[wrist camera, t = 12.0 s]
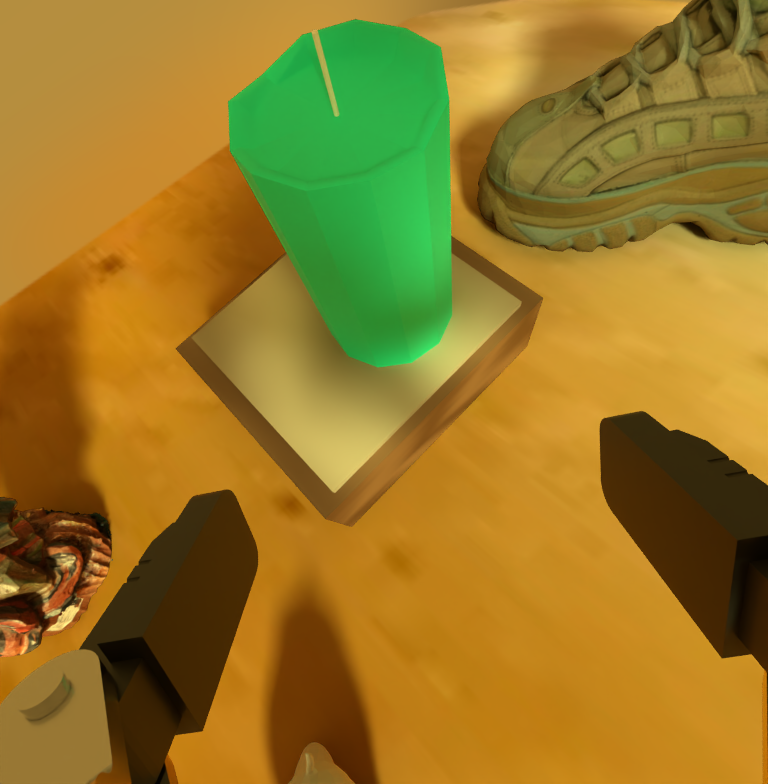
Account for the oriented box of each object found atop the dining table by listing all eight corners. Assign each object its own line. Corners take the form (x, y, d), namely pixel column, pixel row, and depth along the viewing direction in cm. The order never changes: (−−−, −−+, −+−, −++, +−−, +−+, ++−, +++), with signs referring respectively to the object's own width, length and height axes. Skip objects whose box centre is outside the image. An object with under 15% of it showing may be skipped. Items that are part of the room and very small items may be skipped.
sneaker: (507, 125, 31) (549, -219, 17) (827, 166, 26) (1242, -271, 12) (461, 246, 28) (467, -55, 14) (813, 318, 23) (1341, -36, 9)
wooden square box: (382, 239, 29) (367, 174, 24) (526, 346, 25) (544, 293, 20) (223, 384, 27) (170, 345, 22) (351, 526, 23) (322, 518, 18)
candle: (424, 241, 22) (393, -80, 11) (473, 338, 20) (496, 57, 9) (314, 285, 22) (171, 11, 11) (350, 386, 20) (215, 170, 9)
